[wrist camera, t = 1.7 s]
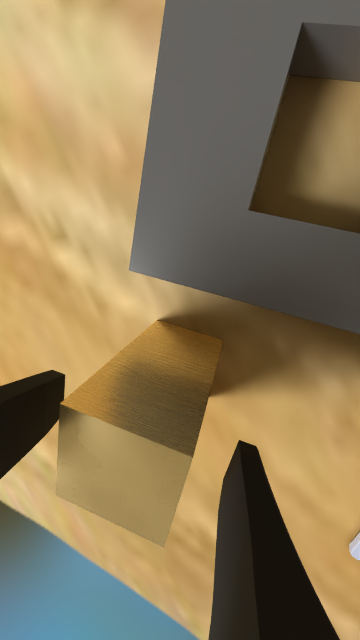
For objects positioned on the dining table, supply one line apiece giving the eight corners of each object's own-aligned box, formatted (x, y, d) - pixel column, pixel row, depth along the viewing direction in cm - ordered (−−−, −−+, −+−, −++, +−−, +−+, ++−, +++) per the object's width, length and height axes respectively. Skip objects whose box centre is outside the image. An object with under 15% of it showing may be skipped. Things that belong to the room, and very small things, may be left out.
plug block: (223, 340, 14) (192, 457, 6) (205, 397, 15) (163, 547, 8) (157, 320, 14) (59, 403, 7) (146, 376, 16) (56, 495, 8)
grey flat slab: (699, -48, 7) (938, -201, 4) (438, 342, 11) (488, 369, 9) (202, -55, 9) (186, -154, 7) (149, 265, 13) (128, 270, 11)
